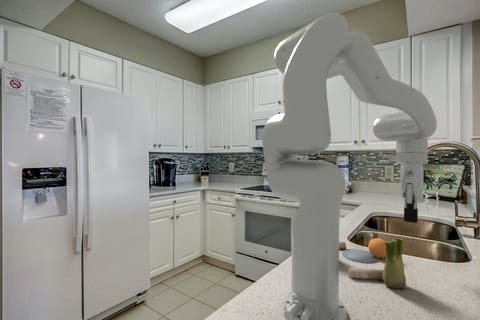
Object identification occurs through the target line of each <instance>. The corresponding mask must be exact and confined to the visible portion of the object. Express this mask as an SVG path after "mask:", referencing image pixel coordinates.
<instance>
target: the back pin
mask: <svg viewBox="0 0 480 320" xmlns="http://www.w3.org/2000/svg"><path fill="white" fill-rule="evenodd" d="M346 248H347V244H346V242H345V241H339V250H347V249H346Z"/></svg>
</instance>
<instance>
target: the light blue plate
mask: <svg viewBox="0 0 480 320" xmlns="http://www.w3.org/2000/svg"><path fill="white" fill-rule="evenodd" d="M341 254H342V256H343V257H345V259H348V260H349V261H353V262H356V263H361V264H362V263H363V264H376V263H378V262H379V261H381V260H380V259H381V258H377V257H375V256H373V255H372V254H371V253H370V251H369V250H364V249H358V248H349V249H348V248H347V249H343V251H342V253H341Z"/></svg>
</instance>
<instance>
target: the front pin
mask: <svg viewBox="0 0 480 320" xmlns="http://www.w3.org/2000/svg"><path fill="white" fill-rule="evenodd" d="M382 273H383V269H371V268H370V269H369V268H354V267H352V268H351V267H348V276H349V278H350V279H363V280H381V281H383V277H382Z"/></svg>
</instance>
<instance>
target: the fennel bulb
mask: <svg viewBox="0 0 480 320" xmlns="http://www.w3.org/2000/svg"><path fill="white" fill-rule="evenodd" d="M385 241H386V257H385V263H384V266H383V269H382V270H383V273H382V277H383V280H382V281H383V284H384V285H385V286H387V287H389V288H394V289H397V290H401V289H404V288H405V287H406V285H407V279H406V274H405V267H404V262H403V255H402V254H403V239H402V238H399V237H392V239H391V241H390V240H385Z"/></svg>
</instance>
